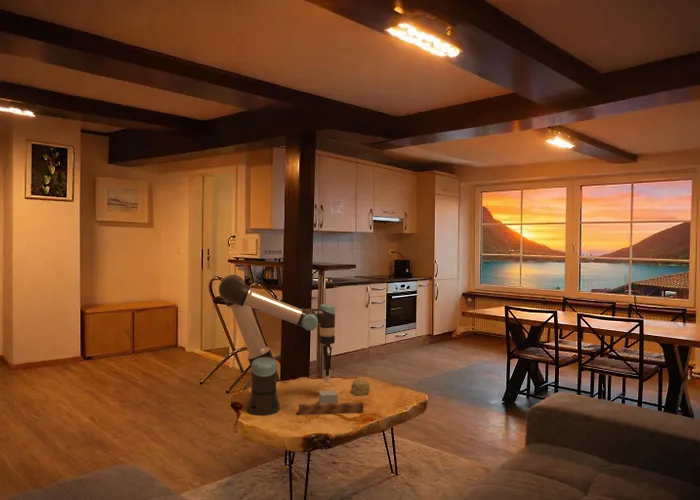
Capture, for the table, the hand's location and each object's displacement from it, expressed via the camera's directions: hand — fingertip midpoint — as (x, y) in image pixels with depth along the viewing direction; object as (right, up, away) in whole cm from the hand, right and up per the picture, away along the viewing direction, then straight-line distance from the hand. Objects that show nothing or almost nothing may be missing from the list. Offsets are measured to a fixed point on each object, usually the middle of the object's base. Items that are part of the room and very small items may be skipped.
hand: (327, 381), depth 268 cm
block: (+1, -9, -9) cm, 13 cm away
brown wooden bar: (+3, -10, -19) cm, 22 cm away
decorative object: (+17, -9, +10) cm, 22 cm away
